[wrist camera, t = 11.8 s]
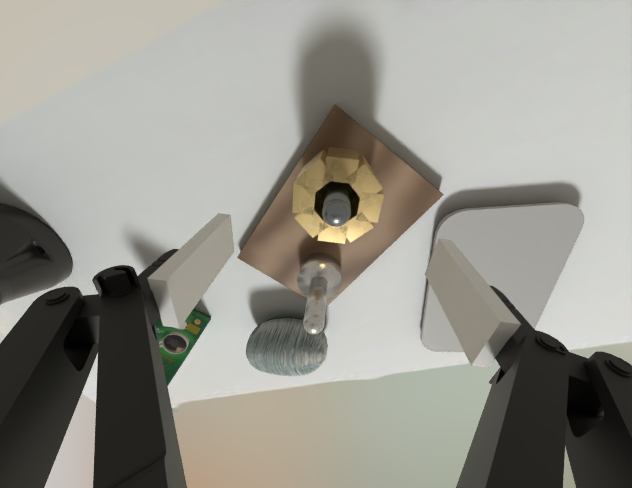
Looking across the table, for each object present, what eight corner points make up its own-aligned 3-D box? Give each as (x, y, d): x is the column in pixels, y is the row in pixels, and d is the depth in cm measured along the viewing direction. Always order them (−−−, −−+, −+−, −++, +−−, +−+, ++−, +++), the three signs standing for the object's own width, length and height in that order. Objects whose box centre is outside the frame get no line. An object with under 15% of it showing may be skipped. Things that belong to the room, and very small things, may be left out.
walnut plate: (240, 252, 37) (237, 257, 36) (335, 104, 26) (335, 104, 25) (324, 302, 41) (324, 308, 39) (439, 190, 30) (443, 194, 28)
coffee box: (166, 304, 45) (107, 372, 33) (171, 295, 43) (111, 363, 32) (206, 325, 47) (163, 396, 35) (212, 317, 45) (169, 388, 34)
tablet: (416, 340, 44) (419, 351, 42) (433, 205, 31) (440, 212, 29) (515, 340, 42) (523, 352, 40) (577, 195, 29) (594, 201, 27)
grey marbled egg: (250, 361, 46) (243, 396, 36) (249, 311, 45) (242, 333, 35) (321, 354, 48) (333, 386, 38) (321, 307, 47) (333, 326, 37)
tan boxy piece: (299, 217, 28) (291, 237, 24) (303, 144, 24) (294, 152, 20) (367, 225, 28) (371, 247, 24) (382, 152, 24) (391, 163, 20)
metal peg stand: (303, 185, 30) (284, 224, 20) (333, 142, 27) (328, 164, 17) (342, 213, 31) (342, 262, 21) (374, 174, 28) (391, 211, 18)
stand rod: (292, 272, 36) (274, 333, 27) (315, 245, 34) (304, 302, 24) (325, 291, 38) (319, 356, 28) (349, 267, 35) (352, 329, 25)
